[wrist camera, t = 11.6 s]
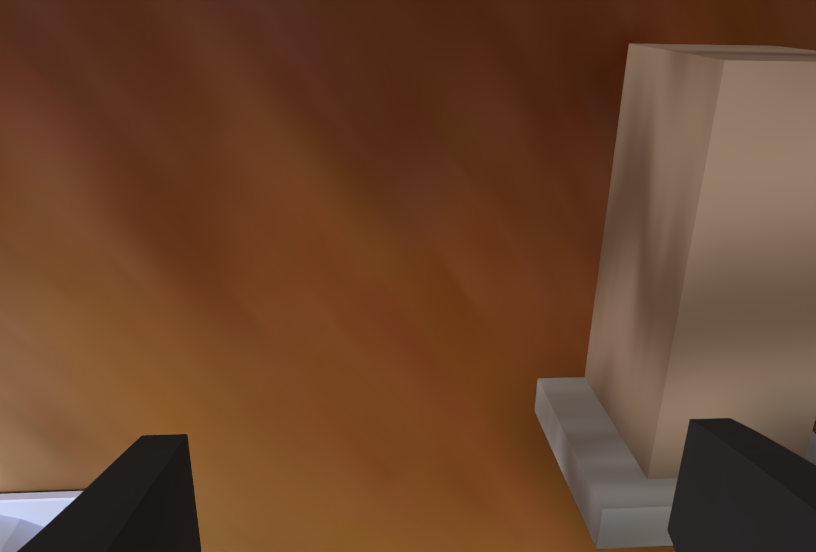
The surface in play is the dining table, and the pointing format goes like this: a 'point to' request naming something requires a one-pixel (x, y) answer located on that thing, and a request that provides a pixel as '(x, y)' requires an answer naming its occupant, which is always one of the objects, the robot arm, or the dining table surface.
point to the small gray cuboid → (694, 280)
